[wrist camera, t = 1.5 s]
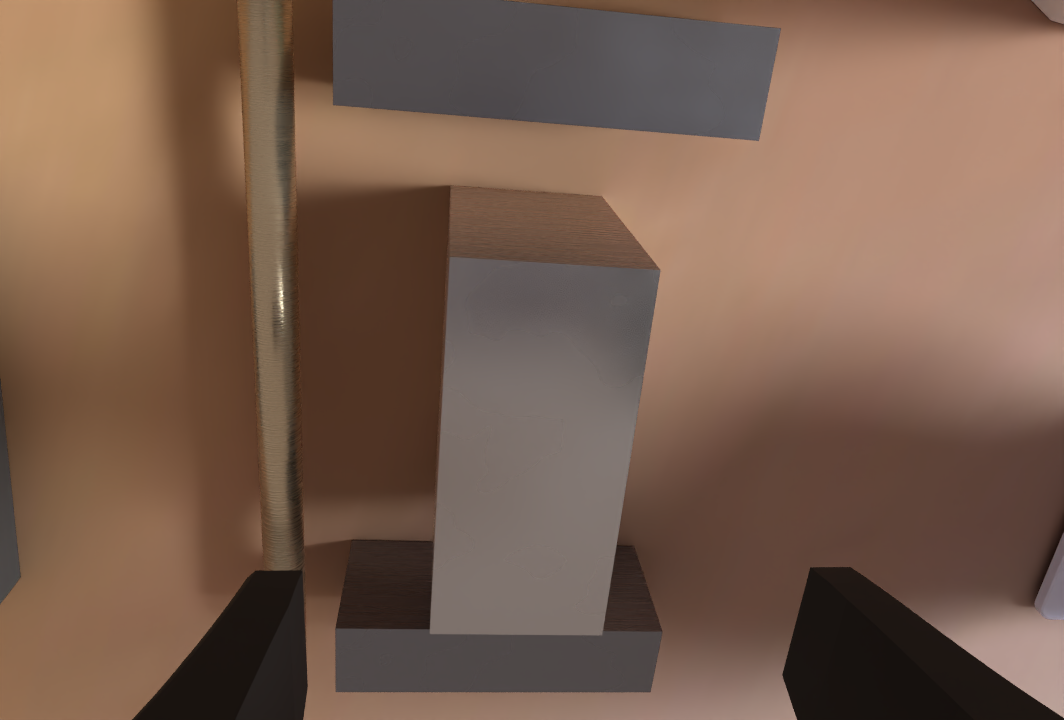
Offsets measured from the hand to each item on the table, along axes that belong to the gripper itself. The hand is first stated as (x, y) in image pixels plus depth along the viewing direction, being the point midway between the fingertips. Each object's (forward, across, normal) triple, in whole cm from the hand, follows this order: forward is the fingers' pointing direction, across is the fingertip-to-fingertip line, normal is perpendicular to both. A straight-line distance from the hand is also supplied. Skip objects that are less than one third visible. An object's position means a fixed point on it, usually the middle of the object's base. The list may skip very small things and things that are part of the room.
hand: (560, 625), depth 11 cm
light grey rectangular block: (+10, 0, 0) cm, 10 cm away
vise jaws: (+10, 0, 0) cm, 10 cm away
